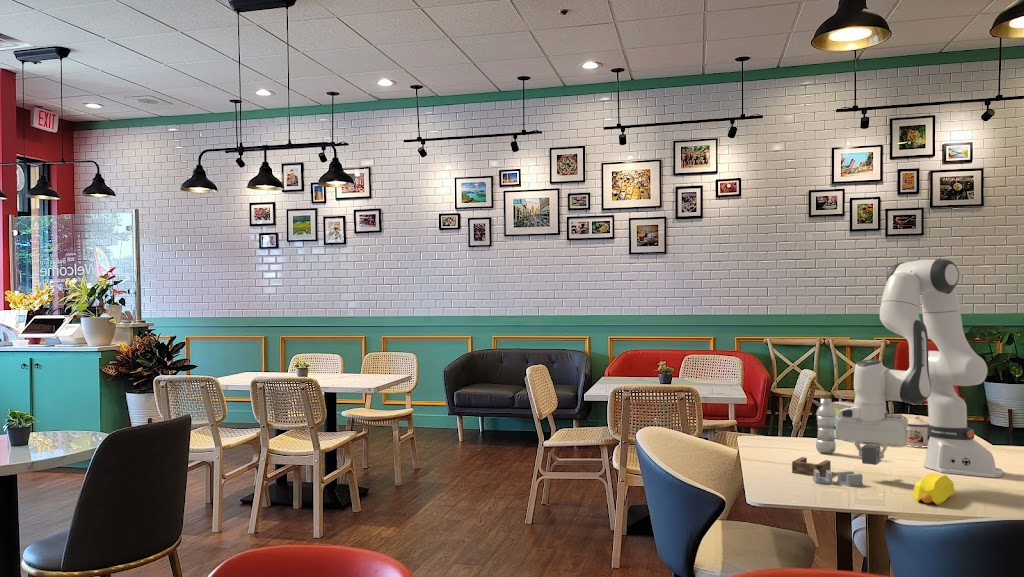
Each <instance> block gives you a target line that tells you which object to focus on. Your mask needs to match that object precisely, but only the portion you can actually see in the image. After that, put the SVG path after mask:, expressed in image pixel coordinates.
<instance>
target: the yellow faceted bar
mask: <svg viewBox="0 0 1024 577" xmlns="http://www.w3.org/2000/svg"><path fill="white" fill-rule="evenodd" d="M954 494H956V491H955V486H954V482H953V480H951V478H950V477H949V476H947V475H945V474H943V475H941V474H937V473H929V474H926V475H925V476H923V478H921V479H920V480H918V481H917V482H916V483H915V484H914V488H913V493H912V497H913V498H914V499H915V500H916V501H917V503H921V502H923V503H924V504H932V503H933V504H935V505H936V506H940V505H942V503H944V502H946V500H947V499H949V498H951V497H952V496H954Z"/></svg>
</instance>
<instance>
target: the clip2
mask: <svg viewBox="0 0 1024 577" xmlns="http://www.w3.org/2000/svg"><path fill="white" fill-rule="evenodd" d="M812 480H813V482H814V483H815V484H821V485H834V481H833V472H832V471H831V472H830V470H826V474H825V477H820V472H819V471H818V470H817V469H814V476H812Z"/></svg>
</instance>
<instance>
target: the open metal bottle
mask: <svg viewBox="0 0 1024 577" xmlns="http://www.w3.org/2000/svg"><path fill="white" fill-rule="evenodd" d="M831 402H832V398H827V397H821V398H820V401H819V403H820V406H819V407H817V410H816V421H817V438H816V443H815V448H816V449H815V450H817V452H818V453H821V454H822V453H823V454H826V455H827V454H833V453H834V452H836V447H837V446H836V441H835V438H834V423H835V416H836V413H835V410H834V409H833V408H832V406H831V404H832V403H831Z"/></svg>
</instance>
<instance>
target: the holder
mask: <svg viewBox="0 0 1024 577" xmlns="http://www.w3.org/2000/svg"><path fill="white" fill-rule="evenodd" d="M807 459H808V457H806V456H805V457H804V456H801V457H799V458H797V459H795V460H793V461H792V462H791V473H793V474H798V475H804V476H805V475H806V476H811V477H814V469H817V470H818V471H819V472H820V477H821V478H823V477H824V476H826V470H830V472H831V473H832V471H831V460H829V459H825V460H823V461H820V462H819V463H812V462H808V461H807Z"/></svg>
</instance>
